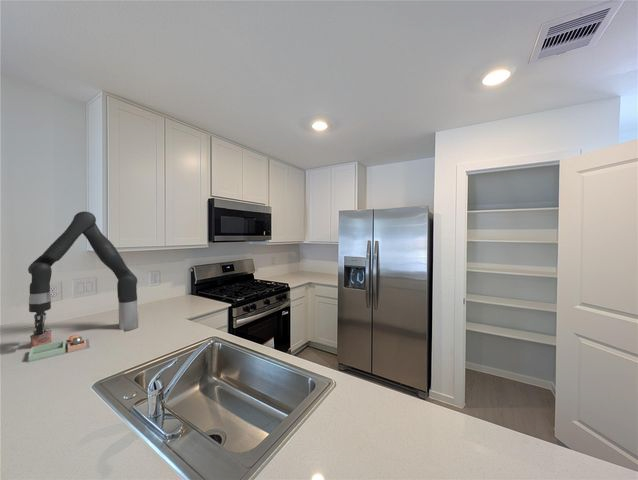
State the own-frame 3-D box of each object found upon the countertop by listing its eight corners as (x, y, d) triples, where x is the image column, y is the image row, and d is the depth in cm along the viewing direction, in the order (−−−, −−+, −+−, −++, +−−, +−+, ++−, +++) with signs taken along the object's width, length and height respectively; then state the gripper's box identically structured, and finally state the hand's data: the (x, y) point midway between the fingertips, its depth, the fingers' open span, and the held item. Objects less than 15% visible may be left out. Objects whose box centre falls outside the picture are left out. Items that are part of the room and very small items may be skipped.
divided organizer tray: (88, 341, 136) (88, 334, 136) (89, 350, 126) (89, 342, 126) (29, 354, 121) (29, 346, 121) (26, 365, 111) (25, 357, 111)
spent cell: (81, 345, 128) (80, 335, 128) (81, 347, 126) (81, 336, 126) (72, 347, 126) (72, 337, 126) (73, 349, 124) (73, 338, 124)
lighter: (33, 351, 124) (33, 331, 124) (28, 350, 125) (27, 330, 124) (53, 344, 132) (53, 325, 132) (48, 343, 133) (48, 325, 132)
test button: (78, 341, 132) (78, 334, 132) (79, 344, 130) (78, 336, 130) (69, 343, 130) (69, 336, 130) (69, 346, 127) (69, 338, 127)
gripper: (30, 299, 130) (30, 330, 131) (27, 305, 120) (27, 339, 121) (51, 297, 136) (51, 326, 136) (49, 303, 125) (50, 334, 126)
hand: (40, 332), depth 128 cm, fingers open, 8 cm apart
